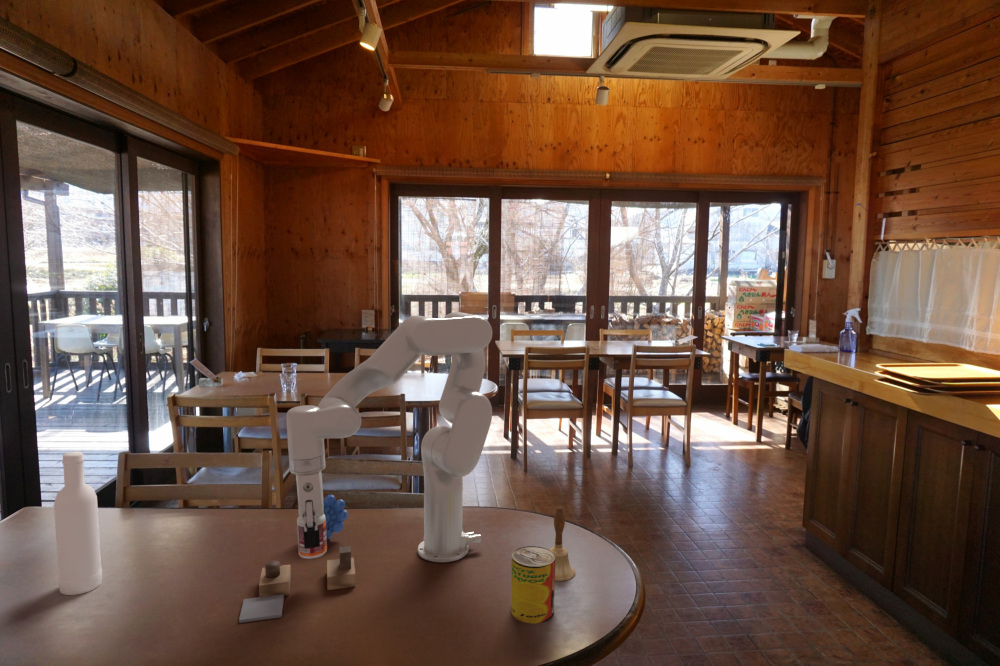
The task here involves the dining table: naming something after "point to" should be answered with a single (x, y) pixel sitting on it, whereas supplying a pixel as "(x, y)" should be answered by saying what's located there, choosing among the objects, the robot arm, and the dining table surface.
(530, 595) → the beverage can
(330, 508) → the blue flower
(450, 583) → the dining table surface
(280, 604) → the coaster
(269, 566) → the wooden knob block
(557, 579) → the hand bell
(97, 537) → the bottle
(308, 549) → the pill bottle
